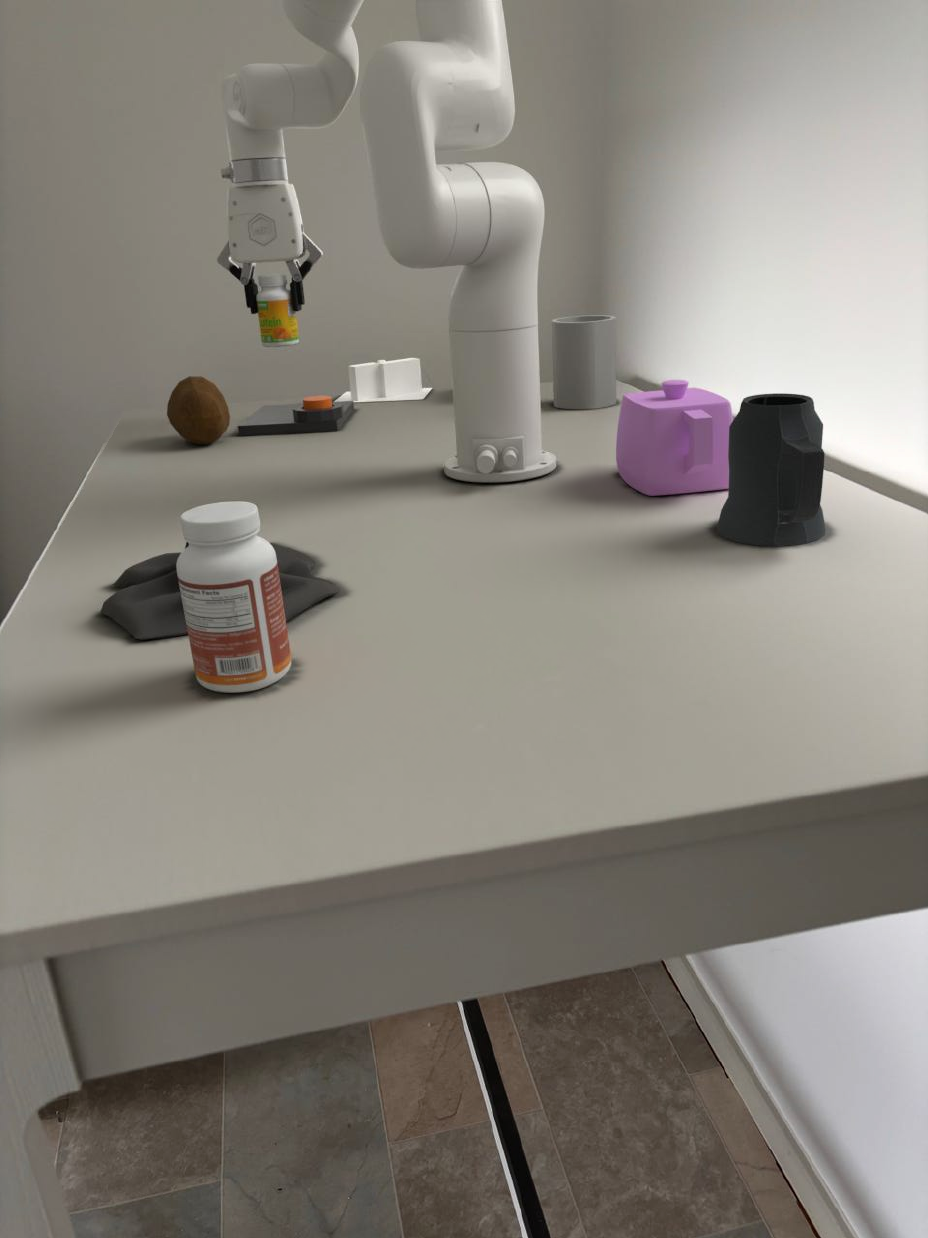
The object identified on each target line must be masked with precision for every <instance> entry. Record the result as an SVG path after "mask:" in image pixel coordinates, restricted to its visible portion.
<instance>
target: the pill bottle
mask: <svg viewBox="0 0 928 1238" xmlns="http://www.w3.org/2000/svg"><path fill="white" fill-rule="evenodd" d="M261 524H262V523H261V520H260V514H259V509H258V506H257V505H256V504H255V503H252V502H249V501H237V500H236V501H233V500H232V501H219V502H213V503H208V504H203V505H199V506H195V507H193V508H191V509H190V508H189V509H187V510H186V511H184V512H183V513H182V514H181V515H180V525H181V531H182V535H183V540H184V541H185V543H186V542H188V543H189V546H188V547H187V548H186V549H185V548H184V549H183V550H182V551H181V552H182V553H181V554H180V556H179V557H178V560H177V564H176V567H177V575H178V581H179V586H180V592H181V597H182V603H183V608H184V613H185V619H186V624H187V630H188V634H187V636H188V641H189V646H190V653H191V658H192V663H193V669H194V673H195V677H196V680H197V682H198V683H199V684H200V685H201V686H202V687H203V688H205V689H207V690H210V691H212V692H217V693H227V694H228V693H229V694H230V693H231V694H235V693H236V694H237V693H246V692H253V691H257V690H260V689H263V688H266V687H268V686H271V685H273V684H274V683H277V682H278V681H280V680H281V679H282V678H284V676H286V674H287V673H288V672H289V670H290V669H291V667H292V653H291V647H290V640H289V634H288V627H287V621H286V619H285V612H284V605H283V598H282V592H281V584H280V577H279V570H278V564H277V558H276V553H275V550H274V548H273V547H272V545H271V544H270V543H271V542H269V541H268V540H266V539H265V538H263V537H261V536H258V533H259V532H260V530H261V528H260V527H261Z"/></svg>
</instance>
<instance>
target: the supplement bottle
mask: <svg viewBox="0 0 928 1238" xmlns="http://www.w3.org/2000/svg"><path fill="white" fill-rule="evenodd" d="M257 278H258V287H260V291H258V294H257V295H256V302H257V310H258V313H257V317H258V325H259V332H260V333H259V334H260V339H261V340H260V341H261V345H262V347H265V348H280V347H291V346H295V345H298V344H299V342H300V339H299V329H298V327H299V326H298V321H297V311H296V312H295V311H293V308H292V299H291V291H290V289H288V288H287V285H288V278H287V274H286V273H273V274H263V275H258V276H257Z"/></svg>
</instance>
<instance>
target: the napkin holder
mask: <svg viewBox="0 0 928 1238" xmlns="http://www.w3.org/2000/svg"><path fill="white" fill-rule="evenodd" d="M347 371H348V381H349V391H345V392H344V393H343V394H341V395H340V396H339V397H338V398H337V399H335V400H334V401H333V402H341V401H353V402H354V403H369V402H370V403H371V402H373V403H374V402H392V401H395V402H397V401H416V400H417V401H418V400H419V401H420V400H424V399H425V398H426V397H427V395H428V394H429V393H430V392H431V390H432V389H433V387H423V384H422V383H423V382H422V370H421V358H417V357H406V358H400V359H394V360H393V359H392V360H387V361H386V359H379V360H377V361H376V362H374V361H373V362H365V363H359V364H358V363H357V364H351V365H347Z"/></svg>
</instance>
